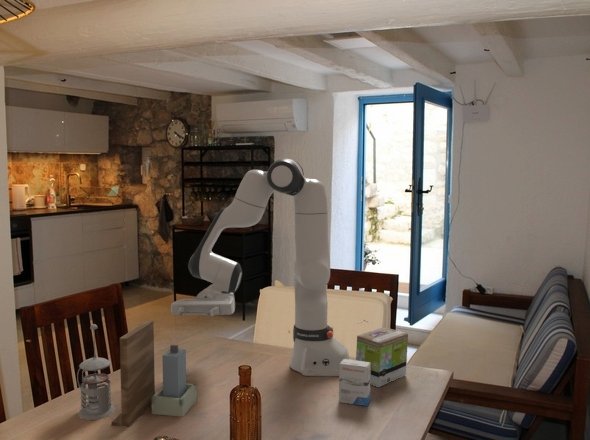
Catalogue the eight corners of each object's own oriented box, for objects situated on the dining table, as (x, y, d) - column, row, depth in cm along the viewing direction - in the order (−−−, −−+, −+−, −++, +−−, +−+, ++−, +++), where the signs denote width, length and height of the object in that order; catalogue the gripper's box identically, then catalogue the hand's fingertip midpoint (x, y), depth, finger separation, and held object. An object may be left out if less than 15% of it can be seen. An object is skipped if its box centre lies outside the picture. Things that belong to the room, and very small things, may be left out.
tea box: (379, 389, 173) (380, 342, 171) (354, 379, 180) (355, 335, 178) (407, 376, 183) (408, 332, 182) (382, 367, 190) (383, 325, 189)
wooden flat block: (154, 401, 162) (153, 321, 160) (129, 427, 147) (126, 338, 144) (138, 400, 163) (137, 320, 160) (111, 425, 147) (108, 337, 145)
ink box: (370, 400, 165) (371, 361, 163) (367, 407, 160) (368, 367, 159) (342, 395, 167) (343, 357, 166) (338, 402, 163) (339, 363, 162)
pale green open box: (196, 399, 164) (196, 384, 163) (182, 416, 153) (182, 400, 152) (167, 397, 165) (167, 381, 165) (151, 413, 154) (151, 397, 154)
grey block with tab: (186, 392, 161) (185, 342, 160) (178, 401, 155) (177, 349, 154) (171, 391, 162) (170, 341, 160) (163, 400, 156) (162, 348, 155)
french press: (93, 423, 149) (90, 332, 146) (65, 412, 155) (62, 324, 152) (122, 409, 157) (120, 322, 154) (95, 399, 163) (92, 316, 160)
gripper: (179, 292, 186) (162, 303, 173) (238, 292, 182) (225, 303, 169) (180, 311, 187) (163, 323, 173) (239, 311, 183) (226, 323, 170)
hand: (194, 313), depth 171 cm, fingers open, 8 cm apart
